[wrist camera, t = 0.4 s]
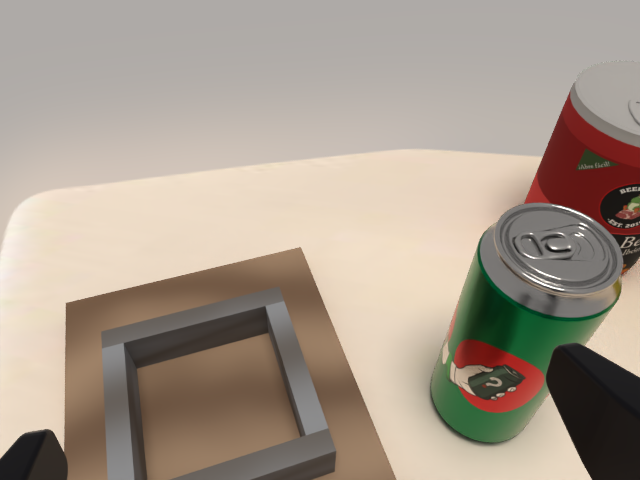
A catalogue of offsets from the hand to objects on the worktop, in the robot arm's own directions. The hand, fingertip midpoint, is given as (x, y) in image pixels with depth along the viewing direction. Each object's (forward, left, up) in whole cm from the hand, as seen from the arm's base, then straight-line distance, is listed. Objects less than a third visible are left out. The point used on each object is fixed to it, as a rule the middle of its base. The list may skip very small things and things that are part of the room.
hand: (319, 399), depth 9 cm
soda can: (+5, -10, -17) cm, 20 cm away
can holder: (+8, +3, -16) cm, 18 cm away
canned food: (+13, -22, -17) cm, 31 cm away
